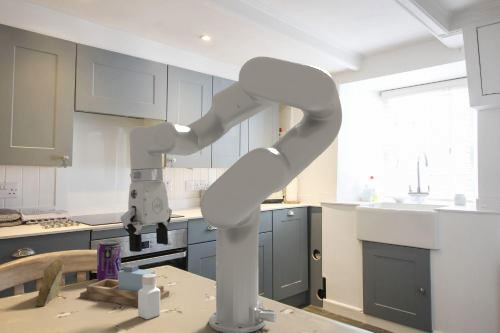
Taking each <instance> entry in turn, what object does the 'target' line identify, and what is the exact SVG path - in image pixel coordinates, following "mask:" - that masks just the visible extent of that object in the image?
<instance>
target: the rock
mask: <svg viewBox="0 0 500 333" xmlns="http://www.w3.org/2000/svg"><path fill="white" fill-rule="evenodd" d="M64 265H65V263H64V262H62V261H61V260H57V261H54V262H52V263H51V264H49V265H48V266H47V267H46V268H45V269H44V270H43V278H42V281H41V282H42V283H41V286H40V287H39V290H38V295H37V298H36V300H35V303H34V306H35V307H45V306H46V305H47V304H49V302H51V301H52V300H54V299H55V298H56V297H57V296H58V295H59V294H60V288H61V283H62V282H61V281H62V277H63V273H64Z"/></svg>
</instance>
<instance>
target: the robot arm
mask: <svg viewBox="0 0 500 333" xmlns="http://www.w3.org/2000/svg"><path fill="white" fill-rule="evenodd" d="M276 104H280V105H283V106H287V107H292V108H294V109H297V110H300V111H301V112H302V113H303V115H302V118H301V120H300V121H299V122H298V123H297V124H295V125H294V126H293V127H291V128H290V129H288V131H287V132H286V133H284V135H282V137H280V138H279V139H278V140H277V141H276V142H274V143H273V144H272V145H271V146H269V147H265V146H262V147H256V148H254V149H251V150H250V151H248V152H246V153H245V154H244V155H242V156H241V157H240V158H239V159H237V161H235V162H234V163H233V164H232V165H231V166H230V167H229V168H227V170H226V171H225V172H223V173H222V174H221V175H220V176H219V177H218V178H217V179H216V180H215V181H213V183H212V184H210V185H209V186H208V187H207V189H206V190H205V191H204V193H203V195H202V197H201V200H200V213H201V215H202V218H203V219H204V221H205V222H206V223H207V225H209V226H211V227H213V228H215V229H217V232H216V246H215V247H216V250H215V252H216V254H215V274H216V275H215V280H216V281H215V291H216V292H215V299H216V300H215V302H216V303H215V306H216V307H215V309H216V310H215V312H213V313H212V314H210V316H209V319H208V322H209V326H210V327H211V328H212V329H213V330H215V331H217V332H220V333H253V332H255V331H258V330H261V329H262V328H263V327H264V326H265V325H266V322H269V323H270V322H271V323H276V320H277V313H276V312H275V309H274V308H266V307H264V306H263V304H264V303H263V301H264V300H259V239H260V238H259V234H260V233H259V232H260V222H261V211H262V210H261V208H262V206H261V205H262V203H263V202H265V201H266V200H267V199H268V198H270V196H272V195H273V194H276V193H279V192H281V191H283V190H284V189H286V188H287V187H288V186H289V185H290V184H291V183H292V181H293V180H295V179H296V178H297V177H298V176H299V175H300V174H301V173H302V172H304V171H305V170H306V169H307V168H309V166H310V165H311V164H312V163H313V162H314V161H315V160H317V158H319V157H320V156H321V155H322V154H323V153H324V152H325V151H326V150H327V149H329V147H331V145H332V144H333V142H334V141H335V140H336V138H337V137H338V135H339V132H340V130H341V127H342V122H343V109H342V104H341V100H340V95H339V92H338V88H337V85H336V82H335V80H334V78H333V76H332V75H331V74H330V73H329V72H328V71H326V70H324V69H322V68H320V67H318V66H313V65H309V64H303V63H300V62H294V61H289V60H285V59H281V58H275V57H271V56H270V57H269V56H255V57H252V58H250V59H249V60H247V61H246V62H245V63H244V64H243V65H242V66H241V68H240V70H239V73H238V81H236V82H234V83H232V84H231V85H229V86H228V87H227V86H226V87H225V88H224V89H222V90H220V91H217V93H215V94H213V96H212V98H211V105H210V108H209V110H208V111H207V113H205V114H204V115H203V116H202V117H200V118H198V119H197V120H195V121H193V122H191V123H190V124H188V125H183V124H180V123H176V122H171V121H164V122H163V121H162V122H159V123H156V124H152V125H142V126H141V125H138V126H135V127H132V128H131V129H130V131H129V154H130V155H129V156H130V157H129V158H130V174H129V177H130V184H129V191H128V202H127V204H128V207H127V208H128V209H127V211H126V212H124V214H123V215H121V216H120V221H121V224H122V225H123V227H122V228H123V229H124V230H125V231H126V235H128V244H129V245H128V247H129V252H133V253H134V252H136V253H140V252H142V251H143V246H142V245H143V240H142V233H140V232H141V231H142V228H143V226H149V225H156V226H157V227H156V228H155V229H156V230H155V233H156V234H155V235H156V238H155V239H156V244H157V245H168V244H169V230H168V229H169V227H170V221H171V216H172V212H173V209H172V208H170V207H169V197H168V191H167V187H166V184H165V183H166V182H165V181H164V175H163V174H164V172H163V170H164V169H163V155H171V156H173V155H175V156H185V157H186V156H191V155H193V154H197V153H198V152H200V151H202V150H204V149H205V148H207V147H209V146H211V145H213V144H215V143H216V142H217V141H219V140H220V139H222V138H223V137H224V136H225V135H226V134H228V132H230V131H231V129H232V128H234V127H235V126H237V125H239V124H242V123H243V122H245V121H247V120H248V119H250V118H252V117H254V116H256V115H258V114H259V113H262V112H263V111H265V110H267V109H269V108H271V107H272V106H274V105H276Z"/></svg>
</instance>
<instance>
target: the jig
mask: <svg viewBox="0 0 500 333" xmlns="http://www.w3.org/2000/svg"><path fill="white" fill-rule="evenodd" d="M156 287H157V288H158V289H160V301H162V300H164V299H165V298H168V297H169V296H170V290H165V289H164V285H158V284H156ZM79 297H80V298H84V299H90V300H96V301H102V302H108V303H114V304H120V305H125V306H126V305H127V306H134V307H138V292H135V291H128V290H122V289H118V279H117V280H113V279H104V280H102V281H100V280H99V281H97V282H93V283H90V284H88V285H86V290H83V291H81V292H80V294H79Z"/></svg>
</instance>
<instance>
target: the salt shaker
mask: <svg viewBox="0 0 500 333" xmlns="http://www.w3.org/2000/svg"><path fill="white" fill-rule="evenodd" d="M142 284H143V288H142V289H140V290H139V291H138V306H137V314H138V317H140V318H143V319H145V320H150V319H154V318H155V317H159V316H160V315H161V300H160V289H158V288H157V287H156V285H157V274H156V273H155V274H145V275H143V276H142Z"/></svg>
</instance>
